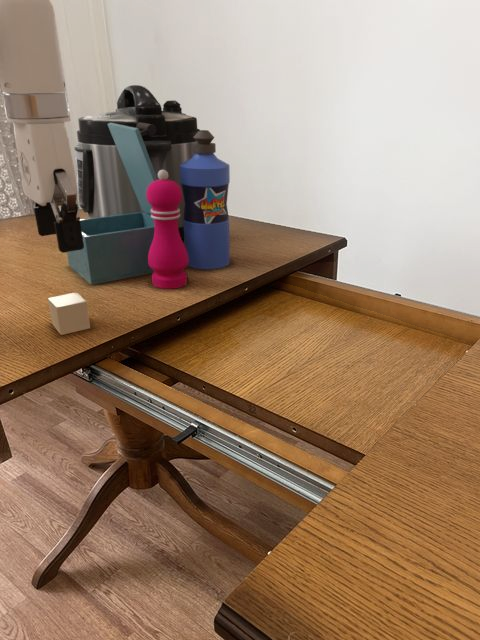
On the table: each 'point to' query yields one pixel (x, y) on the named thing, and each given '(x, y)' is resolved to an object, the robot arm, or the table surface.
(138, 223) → the bin
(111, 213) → the pressure cooker
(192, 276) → the table surface
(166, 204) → the pepper mill
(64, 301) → the block
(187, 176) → the water bottle
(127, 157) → the bin lid
